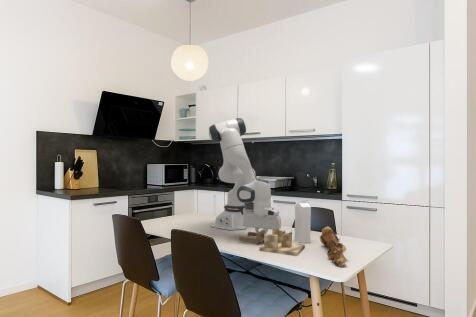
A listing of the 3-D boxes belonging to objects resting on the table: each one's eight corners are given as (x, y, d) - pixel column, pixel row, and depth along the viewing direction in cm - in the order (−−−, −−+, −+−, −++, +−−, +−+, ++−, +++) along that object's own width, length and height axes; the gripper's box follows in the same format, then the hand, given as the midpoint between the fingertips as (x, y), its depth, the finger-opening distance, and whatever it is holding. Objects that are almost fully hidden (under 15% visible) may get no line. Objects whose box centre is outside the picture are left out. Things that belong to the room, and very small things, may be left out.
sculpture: (329, 255, 166) (335, 271, 132) (315, 232, 169) (317, 241, 135) (344, 247, 165) (354, 260, 131) (329, 223, 168) (335, 231, 134)
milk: (294, 240, 175) (294, 199, 176) (303, 239, 178) (303, 199, 179) (301, 243, 170) (302, 201, 170) (310, 242, 173) (311, 200, 173)
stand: (259, 250, 154) (259, 232, 154) (270, 243, 169) (270, 226, 169) (296, 255, 147) (297, 236, 147) (304, 247, 162) (305, 230, 162)
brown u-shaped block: (239, 240, 168) (239, 231, 168) (248, 235, 180) (248, 227, 180) (258, 242, 164) (258, 234, 164) (266, 237, 176) (266, 229, 176)
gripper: (241, 209, 172) (240, 235, 172) (278, 212, 164) (278, 240, 164) (245, 207, 178) (245, 233, 178) (282, 211, 170) (281, 237, 170)
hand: (261, 236), depth 171 cm, fingers closed on brown u-shaped block
